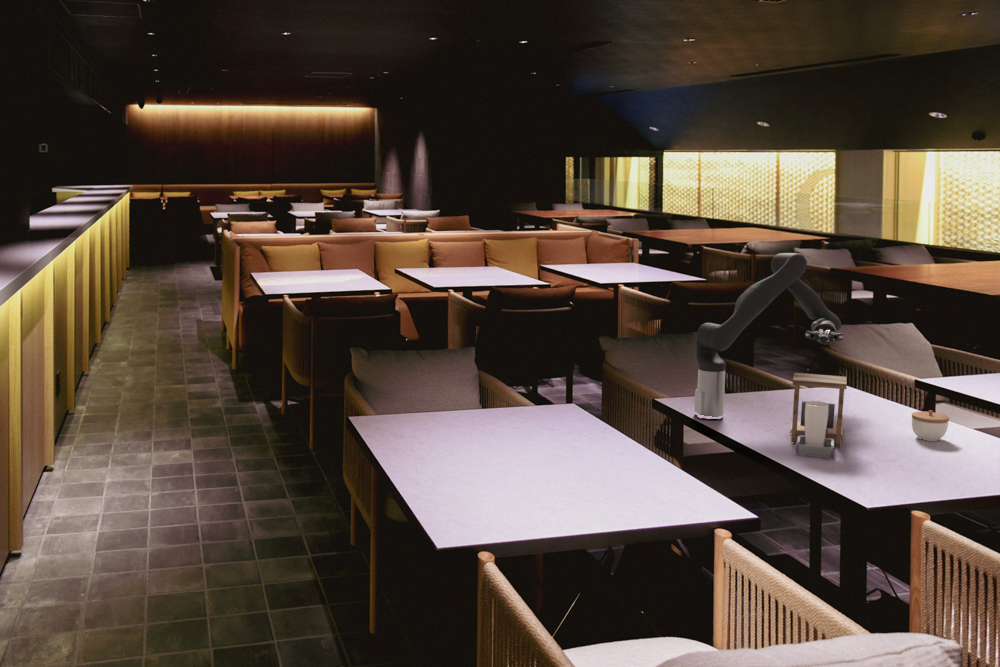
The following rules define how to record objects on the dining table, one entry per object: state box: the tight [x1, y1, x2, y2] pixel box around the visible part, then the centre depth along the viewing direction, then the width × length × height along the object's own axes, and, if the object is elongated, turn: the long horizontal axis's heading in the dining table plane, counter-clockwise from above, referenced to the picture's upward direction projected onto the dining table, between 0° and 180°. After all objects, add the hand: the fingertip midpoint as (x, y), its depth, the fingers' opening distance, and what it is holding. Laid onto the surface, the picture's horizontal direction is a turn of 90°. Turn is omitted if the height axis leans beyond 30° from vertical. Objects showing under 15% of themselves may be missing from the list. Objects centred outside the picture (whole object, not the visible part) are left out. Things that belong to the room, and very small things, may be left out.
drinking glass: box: [804, 400, 829, 447], centre depth 263 cm, size 7×7×15 cm
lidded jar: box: [911, 409, 950, 442], centre depth 277 cm, size 11×11×9 cm
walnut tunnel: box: [790, 372, 848, 449], centre depth 272 cm, size 12×16×21 cm
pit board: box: [789, 420, 844, 440], centre depth 285 cm, size 12×16×2 cm
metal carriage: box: [795, 400, 836, 459], centre depth 269 cm, size 26×11×11 cm, turn 159°
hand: (823, 339), depth 294 cm, fingers closed
